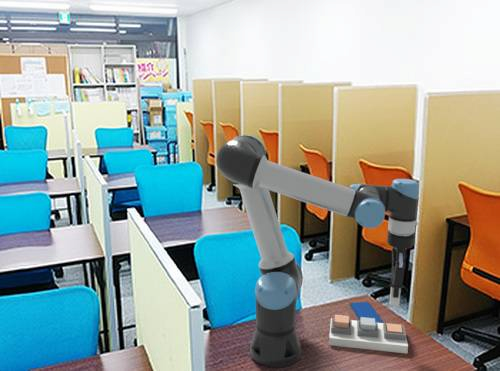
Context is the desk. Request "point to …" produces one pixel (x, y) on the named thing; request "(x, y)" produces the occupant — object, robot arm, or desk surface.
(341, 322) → the left key
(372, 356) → the desk surface
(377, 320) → the smartphone
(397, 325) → the right key
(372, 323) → the middle key
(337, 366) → the desk surface
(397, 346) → the white button panel
